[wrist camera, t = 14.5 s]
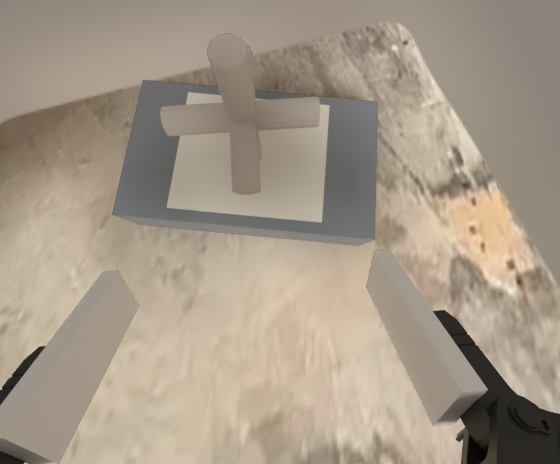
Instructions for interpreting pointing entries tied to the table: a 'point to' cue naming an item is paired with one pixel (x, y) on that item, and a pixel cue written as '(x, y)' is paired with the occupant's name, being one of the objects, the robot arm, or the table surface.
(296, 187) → the grey flat block
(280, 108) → the pipe connector
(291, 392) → the table surface
